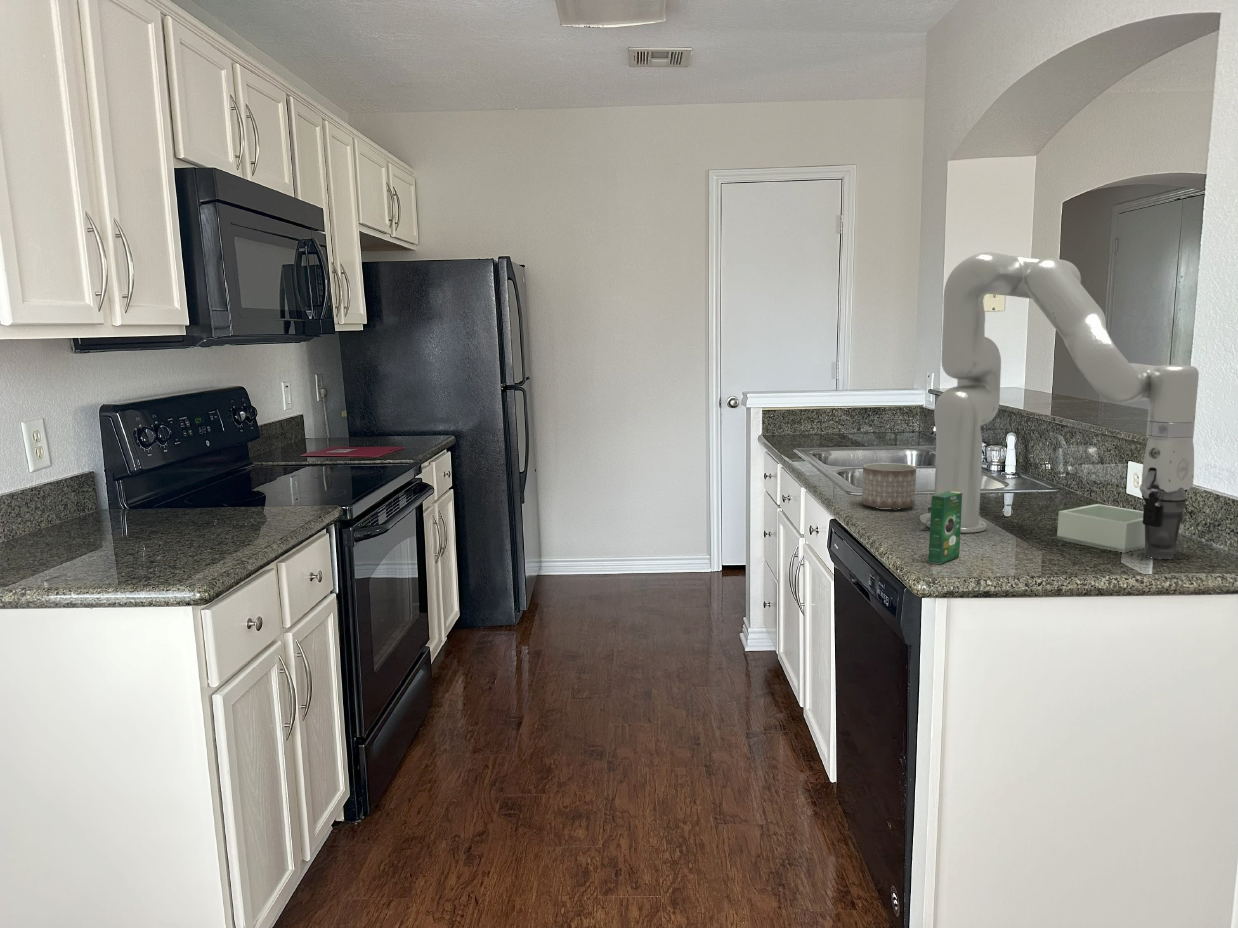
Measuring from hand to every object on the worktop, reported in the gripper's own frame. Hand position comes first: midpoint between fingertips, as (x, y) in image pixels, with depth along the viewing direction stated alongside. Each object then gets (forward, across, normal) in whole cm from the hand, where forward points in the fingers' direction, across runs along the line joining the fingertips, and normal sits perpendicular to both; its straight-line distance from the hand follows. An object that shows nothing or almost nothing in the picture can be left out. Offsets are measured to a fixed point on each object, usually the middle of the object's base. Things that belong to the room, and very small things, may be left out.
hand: (1162, 522), depth 165 cm
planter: (+7, -6, +62) cm, 63 cm away
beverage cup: (+7, 0, 0) cm, 7 cm away
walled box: (+7, +4, +12) cm, 14 cm away
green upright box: (+7, -36, +21) cm, 42 cm away
